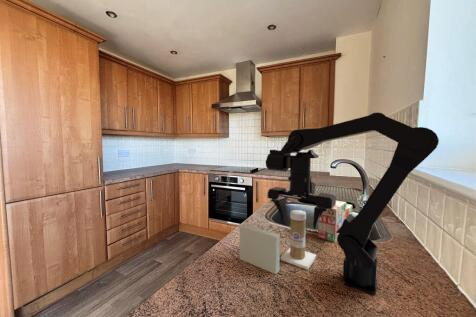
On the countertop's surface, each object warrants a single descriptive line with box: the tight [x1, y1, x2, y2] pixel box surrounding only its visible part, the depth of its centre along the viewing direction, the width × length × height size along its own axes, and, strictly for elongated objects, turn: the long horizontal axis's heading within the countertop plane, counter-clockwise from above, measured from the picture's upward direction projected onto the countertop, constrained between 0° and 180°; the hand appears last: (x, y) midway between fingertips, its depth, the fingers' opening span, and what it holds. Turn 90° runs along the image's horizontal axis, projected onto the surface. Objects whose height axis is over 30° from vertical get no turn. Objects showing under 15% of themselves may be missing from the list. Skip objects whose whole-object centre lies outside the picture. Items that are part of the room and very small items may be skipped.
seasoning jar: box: [289, 209, 307, 259], centre depth 59 cm, size 5×5×14 cm
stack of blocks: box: [317, 200, 354, 243], centre depth 78 cm, size 21×6×12 cm, turn 135°
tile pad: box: [280, 247, 317, 271], centre depth 59 cm, size 8×8×1 cm
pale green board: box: [239, 223, 281, 275], centre depth 56 cm, size 12×2×10 cm, turn 53°
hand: (298, 225), depth 59 cm, fingers open, 9 cm apart
